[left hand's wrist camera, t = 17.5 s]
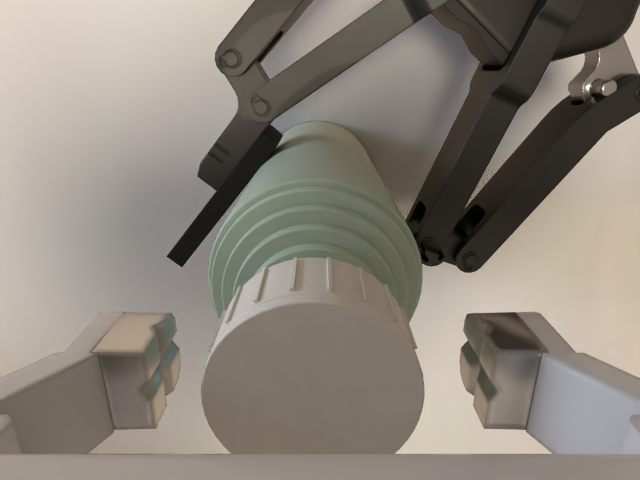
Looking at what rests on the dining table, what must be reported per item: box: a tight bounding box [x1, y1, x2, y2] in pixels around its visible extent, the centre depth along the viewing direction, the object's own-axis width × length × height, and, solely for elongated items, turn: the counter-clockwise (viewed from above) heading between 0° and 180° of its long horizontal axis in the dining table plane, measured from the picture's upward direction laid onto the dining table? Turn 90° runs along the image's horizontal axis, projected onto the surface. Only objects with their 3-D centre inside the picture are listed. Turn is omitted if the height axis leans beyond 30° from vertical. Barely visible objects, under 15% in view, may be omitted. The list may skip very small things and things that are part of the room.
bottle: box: [208, 121, 422, 323], centre depth 17 cm, size 6×6×18 cm
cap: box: [201, 257, 424, 454], centre depth 9 cm, size 4×4×2 cm
